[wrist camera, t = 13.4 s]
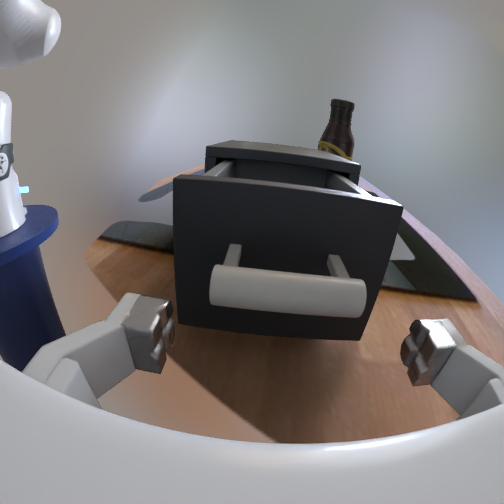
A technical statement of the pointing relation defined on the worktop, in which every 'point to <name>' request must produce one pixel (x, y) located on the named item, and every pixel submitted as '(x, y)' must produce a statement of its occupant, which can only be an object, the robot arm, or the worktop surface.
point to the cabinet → (281, 157)
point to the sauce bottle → (339, 130)
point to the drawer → (279, 250)
